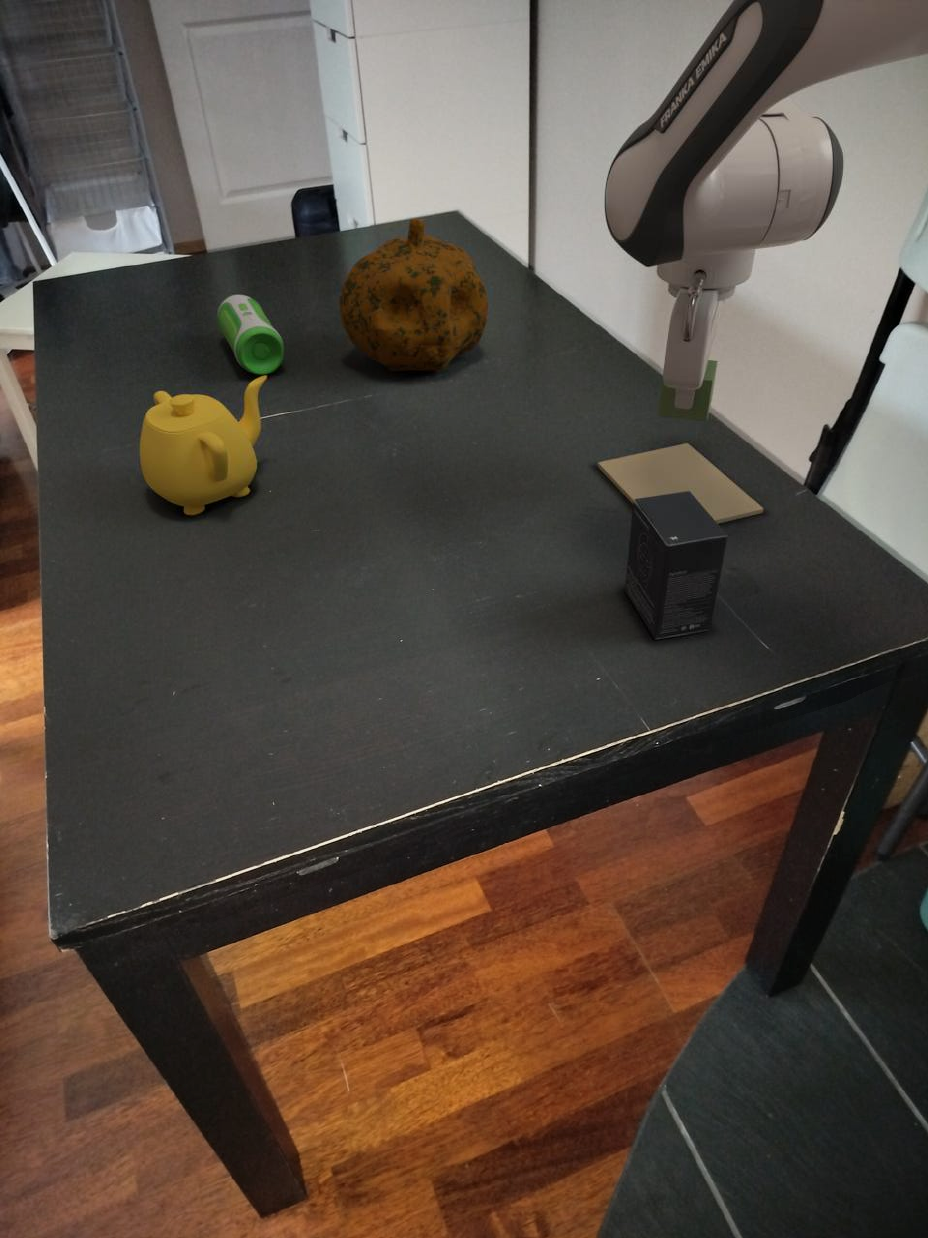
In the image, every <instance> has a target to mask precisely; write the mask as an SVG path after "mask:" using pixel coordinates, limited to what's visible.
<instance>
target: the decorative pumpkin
mask: <svg viewBox="0 0 928 1238" xmlns="http://www.w3.org/2000/svg"><path fill="white" fill-rule="evenodd" d="M408 224H409V225H408V231H407V238H405V237H395V238H393V239H389V240H386V241H385V242H384V243H383V244H381V245H380V246H379V247H378V248H377V249H376V250H375V251H373V252H371V253H368V254H367V255H365V256H363V257H361V258H360V259H359V260H357V262H356V263H355V264H354V265H352V267H351V269H350V271H349V273H348V274H347V275H346V278H345V280H344V282H343V285H342V288H341V291H340V295H339V302H338V304H339V306H338V308H339V314H340V321H341V323H342V326H343V328H344V331H345V333H346V335H347V337H348V340H349V341H350V343H351V344H352V345H353V346H354V347H355V348H356V349H357V350H358V351H359V352H360V353H362V355H364V356H366V357H367V358H369V359H370V360H373V361H375V362H378V363H379V364H381V365H383V366H384V367H385V369H387V370H389V371H392V372H405V371H427V372H429V371H430V372H439V371H442V370H444V369H445V368H446V367H447V366H448V365H449V363H450V362H451V361H452V360H453V359H454V358H455V357H458V356H460V355H463V354H466V352H468V351H470V350H473V349H474V348H475V347H476V346H477V345H478V344H479V342H480V340H481V338H482V337H483V332H484V330H485V328H486V325H487V322H488V320H487V319H488V314H489V304H488V303H489V302H488V296H487V290H486V286H485V284H484V282H483V280H482V279H481V277H480V276H479V274H478V272H477V269H476V266H475V263H474V260H472V258H471V256H470V255H469V254H468V253H467V252H466V251H465V250H464V249H463V248H462V247H460V246H459V245H457V244H455V243H451V242H446V241H443V240H441V239H438V238H436V237H434V236H431V235H428V234H424V232H425V227H426V226H425V222H424V221H423V219H420V218H417V219H416V218H412V219H410V220H409V223H408Z"/></svg>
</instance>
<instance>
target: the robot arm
mask: <svg viewBox="0 0 928 1238" xmlns="http://www.w3.org/2000/svg"><path fill="white" fill-rule="evenodd" d="M926 55H928V0H733V1H732V2H731V3H730V5H729V6H728V7H727V9H726V10H725V12H724V13H723V15H722V16H721V17H720V19H719V20H718V21H717V22H716V24H715V26H714V27H713V29H712V30H711V31H710V33H709V34H708V36H707V37H706V39H705V41H704V42H703V43H702V44H701V46H700V47H699V49H698V50H697V52H696V53H695V55H694V56H693V58H692V59H691V60H690V62H689V63H688V65H687V66H686V68H685V69H684V70H683V72H682V73H681V74H680V76H679V78H678V79H677V81H676V82H675V84H674V85H673V86H672V88H671V89H670V90H669V92H668V93H667V95H666V96H665V98H664V99H663V100H662V102H661V103H660V105H659V106H658V108H657V109H656V110H655V111H654V112H653V114H652V115H651V116H650V117H649V118H648V119H647V120H646V121H644V122H643V123H641V124H640V125H639V126H638V127H636V129H634V130H633V132H632V133H631V134H630V135H629V136H628V137H627V139H626V140H625V141H624V142H623V144H622V145H621V147H620V148H619V150H618V151H617V153H616V155H615V156H614V158H613V160H612V161H611V164H610V166H609V169H608V173H607V176H606V181H605V187H604V216H605V217H604V218H605V222H606V226H607V230H608V232H609V234H610V236H611V237H612V239H613V241H614V242H615V243H616V244H617V245H618V246H619V247H620V248H621V249H622V250H623V251H624V252H625V253H626V254H627V255H628V256H630V257H631V258H632V259H634V260H635V261H636V262H638V263H640V264H641V265H643V266H644V267H646V268H652V267H655V266H656V275H657V277H659V279H661V280H662V281H664V282H666V283H668V284H667V292H668V294H670V296H672V297H673V298H675V300H674V303H673V307H672V310H671V313H670V314H671V315H670V319H669V325H668V332H667V339H666V346H665V347H666V348H665V354H664V356H665V357H664V365H663V372H662V376H663V382H664V385H665V386H667V387H672V388H675V389H676V395H675V403H674V405H675V407H676V408H679V409H690V408H692V406H693V401H694V395H695V389H699V388H700V387H701V385H702V382H703V379H704V375H705V371H706V367H707V364H708V360H710V355H711V352H712V348H713V344H714V342H715V338H716V334H717V329H718V326H719V322H720V318H721V314H722V312H723V309H724V305H725V302H726V300H728V299H731V298H732V296H734V295H735V292H736V286H740V285H742V284H744V283H746V282H747V281H748V280H749V279H750V278H751V277H752V273H753V265H754V259H755V255H756V250H761V249H767V248H776V247H782V246H788V245H793V244H796V243H798V242H802V241H807V240H809V239H810V238H811V237H813V236H814V235H815V234H816V233H817V232H819V230H820V229H821V228H822V227H823V226H824V224H825V223H826V221H827V220H828V218H829V217H830V215H831V214H832V211H833V209H834V207H835V205H836V203H837V199H838V197H839V194H840V190H841V186H842V181H843V176H844V175H843V174H844V153H843V149H842V146H841V144H840V141H839V139H838V137H837V135H836V134H835V132H834V131H833V129H832V128H831V127H830V125H829V124H828V123H826V121H824V120H823V119H822V118H820V117H818V116H811V115H810V114H809V113H807V112H806V111H805V110H804V109H803V108H802V107H801V106H800V105H798V103H797V102H796V101H795V100H794V99H793V98H792V97H791V96H792V95H794V94H796V93H798V92H801V91H803V90H805V89H808V88H809V87H813V86H815V85H818V84H821V83H823V82H827V81H830V80H833V79H835V78H839V77H841V76H842V77H843V76H846V75H849V74H853V73H856V72H859V71H863V70H867V69H871V68H874V67H879V66H883V65H888V64H892V63H895V62H901V61H904V60H907V59H908V60H909V59H912V58H916V57H920V56H926Z"/></svg>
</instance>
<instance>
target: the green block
mask: <svg viewBox="0 0 928 1238" xmlns="http://www.w3.org/2000/svg"><path fill="white" fill-rule="evenodd" d="M718 362H719V361H718V360H712V359H709V360H708V364H707V367H706V371H705V375H704V379H703V382H702V385H701V387H700V388H699V389H695V395H694V401H693V406H692V408H690V409H679V408H676V407H675V405H674V403H675V395H676V389H675V388H672V387H667V386H665V385H664V382H663V375H662V376H661V383H660V384H661V385H660V395H659V401H658V402H659V404H658V413H657V417H659V418H666V419H667V418H668V419H679V420H688V421H698V422H708V418H709V415H710V410H711V405H712V402H713V395H714V394H713V393H714V388H715V382H716V376H717V375H716V374H717V368H718Z"/></svg>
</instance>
